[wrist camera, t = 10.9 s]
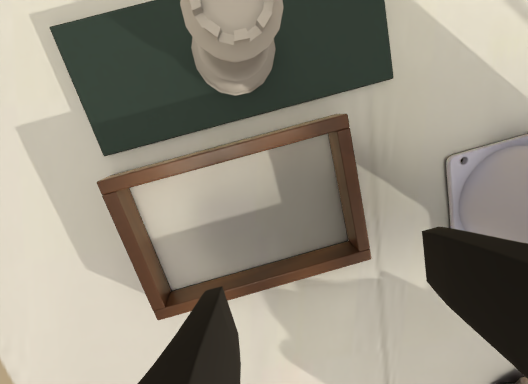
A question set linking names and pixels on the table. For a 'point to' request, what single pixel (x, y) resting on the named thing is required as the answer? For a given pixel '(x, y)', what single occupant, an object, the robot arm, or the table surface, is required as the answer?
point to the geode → (520, 381)
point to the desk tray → (255, 278)
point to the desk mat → (190, 80)
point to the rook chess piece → (233, 41)
